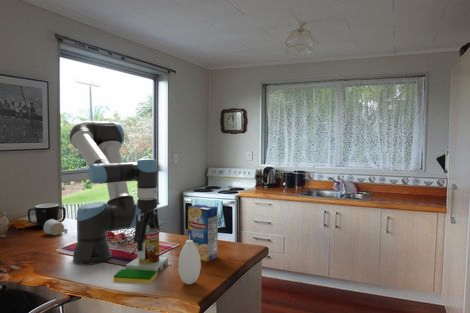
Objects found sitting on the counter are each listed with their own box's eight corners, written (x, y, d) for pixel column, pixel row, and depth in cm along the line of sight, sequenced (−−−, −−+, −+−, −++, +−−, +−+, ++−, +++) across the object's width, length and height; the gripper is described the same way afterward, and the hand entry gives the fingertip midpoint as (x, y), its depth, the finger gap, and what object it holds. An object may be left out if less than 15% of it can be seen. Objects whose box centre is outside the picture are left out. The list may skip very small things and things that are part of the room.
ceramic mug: (51, 237, 182) (51, 222, 181) (43, 234, 186) (43, 220, 186) (70, 233, 190) (70, 219, 190) (62, 230, 195) (62, 217, 195)
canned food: (152, 265, 134) (151, 234, 134) (134, 263, 137) (134, 232, 136) (163, 258, 142) (162, 229, 141) (146, 256, 144) (145, 227, 144)
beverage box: (207, 261, 148) (207, 209, 146) (187, 256, 154) (187, 206, 153) (217, 257, 153) (217, 207, 152) (198, 252, 159) (198, 204, 158)
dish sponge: (149, 284, 125) (149, 278, 125) (113, 282, 127) (112, 275, 127) (156, 277, 132) (156, 270, 132) (121, 274, 134) (121, 268, 134)
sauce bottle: (174, 285, 123) (174, 235, 123) (185, 277, 131) (185, 229, 130) (194, 289, 121) (194, 237, 120) (204, 280, 128) (204, 231, 127)
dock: (126, 272, 135) (126, 265, 135) (141, 262, 147) (140, 254, 147) (155, 275, 133) (155, 267, 132) (168, 264, 144) (168, 257, 144)
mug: (54, 221, 217) (53, 201, 216) (68, 225, 207) (68, 204, 207) (25, 226, 203) (25, 205, 203) (39, 230, 194) (39, 209, 193)
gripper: (142, 203, 126) (142, 265, 128) (167, 194, 148) (167, 246, 150) (123, 202, 128) (124, 263, 129) (151, 193, 150) (151, 245, 151)
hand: (147, 254), depth 139 cm, fingers open, 10 cm apart
